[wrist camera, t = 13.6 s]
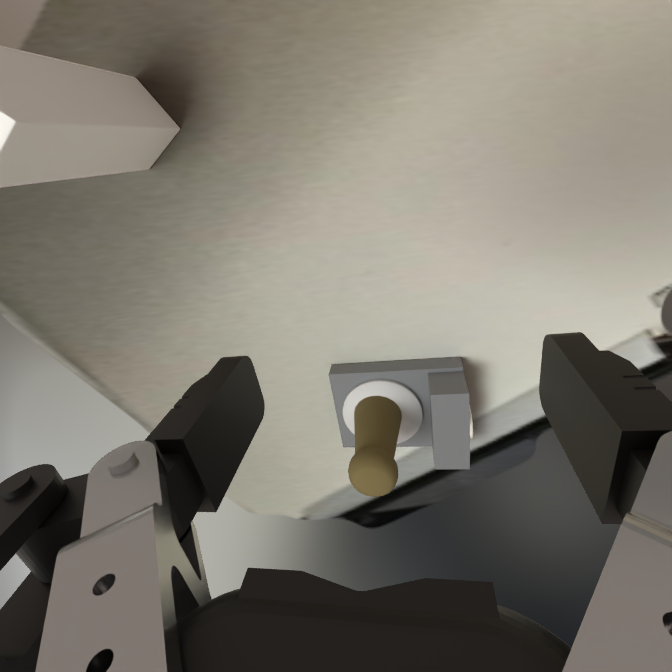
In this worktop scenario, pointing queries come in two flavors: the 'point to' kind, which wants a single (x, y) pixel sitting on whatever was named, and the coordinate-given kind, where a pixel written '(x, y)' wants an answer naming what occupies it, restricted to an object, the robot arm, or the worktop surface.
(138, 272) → the worktop surface
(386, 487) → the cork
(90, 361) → the worktop surface
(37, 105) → the milk
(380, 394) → the knob on square plate
